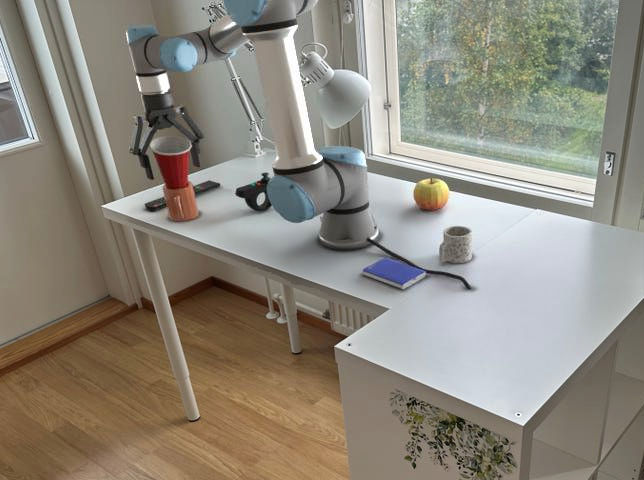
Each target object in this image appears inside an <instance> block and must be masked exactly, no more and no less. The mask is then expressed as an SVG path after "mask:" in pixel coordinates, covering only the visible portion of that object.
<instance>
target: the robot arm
mask: <svg viewBox="0 0 644 480" xmlns="http://www.w3.org/2000/svg"><path fill="white" fill-rule="evenodd" d="M318 2H319V0H222V4H223V8H224V10H225V12H226V14H225V15H224V16H222V17H220V18H219V19H218V20H216V21H215V22H214V23H213V24H211V25H209V26H208V27H207V28H204V29H201V30H196V31H192V32H191V31H190V32H186V33H182V34H181V33H180V34H176V35H171V36H164V35H163V36H161V35H160V33H159V32H158V29H157V26H156V25H154V24H136V25H131V26H128V27H127V28H126V30H125V34H126V39H127V47H128V50H129V54H130V57H131V61H132V66H133V69H134V73H135V77H136V82H137V86H138V89H139V92H140V93H141V94H140V97H141V102H142V106H143V109H144V114H143V115H138V114H134V115H133V123H134V125H133V129H132V134H131V140H130V146H129V151H128V152H129V153H130V154H131V155H134V156H137V157H138V159H139V160H138V161H139V164H140V165H139V166H140V167H141V168H143V169H144V171H145V174H146V178H147V179H149V180H151V181H155V177H154V173H153V169H152V165H151V161H150V156H149V155H148V154H146V153H147V151H148V150H149V149H148V148H150V147H149V144H150V142H151V141H152V140H153V138H154V136H155V134H156V133H157V132H158V130H159V131H163V130H165V129H171V128H172V127H174V128H175V129H177V130H178V132H180V133H181V134H182V135H184V136H185V137H186V138H187V139H188V140H189V141H190V142H191V145H192V147H191V149H190V152H189V153H190V155H191V161H192V165H193V167H195V168H201V163H200V159H199V155H200V154H201V148H200V142H201V140H203V139H204V138H205V135H204V134H203V132H202V131H201V129H200V128H199V127H198V125H197V124H196V122H195V121H194V120H193V119H192V117H191V116H190V114H189V112H188V108H187V106H185V105H181V104H179V105H178V106H177V107H175V104H174V100H173V95H172V91H171V90H170V89H171V85H170V80H169V77H168V72H167V71H170V72H175V73H188V72H190V71H192V70H193V68H194V67H197V66H201V65H204V64H209V63H213V62H218V61H225V60H227V59H230V58H232V57H234V56H235V55H236V53H237V50H238V49H239V48H241V47H243V46H244V45H246V44H247V43H249V42H250V43H251V45H252V49H253V53H254V58H255V62H256V67H257V72H258V77H259V80H260V85H261V90H262V95H263V99H264V104H265V108H266V112H267V118H268V122H269V127H270V131H271V136H272V140H273V145H274V150H275V153H276V154H275V155H276V157H275V158H274V160H273V162H272V164H271V167H272V171H273V176H272V177H270V178H271V179H270V180H269V182H268V185H267V194H268V198H269V200H270V203H271V205H272V206H271V207H272V208H273V209H274V210H275V212H276V213H277V214H278V215H279V216H280V217H281V218H283V219H284V220H285V221H288V222H290V223H292V224H301V223H303V222H306V221H309V220H313V219H315V218H316V217H317V216H319V219H320V228H319V232H318V236H319V242H320V243H321V245H322V246H324V247H327V248H329V249H333V250H341V251H346V250H349V251H350V250H357V249H362V248H365V247H368V246H371V245H373V246H375V247H377V248H378V249H380V250H381V251H382V252H384V253H386V254H388V255H390V256H391V257H393V258H395V259H396V260H399V261H401V262H403V263H404V264H406V265H409V266H411V267H414V268H417V269H420V270H423V271H426V275H435V276H444V277H448V278H452V279H455V280H459V281H460V282H461V283H462V284H463V285H464V286H465V288H466V290H472V287H471V285H470V284H469V283H468V281H467V280H466V278H464V277H463V276H461V275H458V274H455V273H451V272H448V271H441V270H432V269H426V268H423V267H420V266H419V265H416V264H415V263H414V262H413V261H411V260H409V259H407V258H405V257H403V256H401V255H399V254H397V253H395V252H394V251H391V250H390V249H389V248H386V247H385V246H383V245H382V244H380V243H379V242H377V241H378V240H379V237H380V233H379V230H380V229H379V226H378V223H377V222H376V219H375V217H374V214H373V212H372V210H371V207H370V195H369V180H368V165H367V160H366V155H365V153H364V151H363V150H362V149H360V148H357V147H352V146H345V145H331V146H324V147H319V148H318V149H317V150H315V146H314V141H313V136H312V131H311V124H310V121H309V120H310V119H309V115H308V110H307V104H306V100H305V94H304V90H303V89H304V88H303V85H302V79H301V74H300V68H299V62H298V58H297V52H296V48H295V43H294V34H295V32H296V31H297V28H298V27H299V25H298V20H297V18H298V17H300V16H302V15H303V14H306V13H307V12H310V11H311V10H312V9H314V7H316V5H317V4H318ZM177 115H179V116H181V118H182V119H183V120H184V122H185V123H186V125H187V126H188V127H189V129H190V130H191V131H192V132H190V131H189V130H188V129H187V128H186V127H185V126H184V125H182V124H181V122H179V121H178V120H177V119H176V118H177ZM145 121H146V122H147V123H148V124H147V125H146V128H145V132H144V134H143V136H142V133H143V128H144V124H145ZM141 138H142V139H141ZM320 215H322V216H320Z"/></svg>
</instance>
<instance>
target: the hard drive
mask: <svg viewBox="0 0 644 480" xmlns="http://www.w3.org/2000/svg"><path fill="white" fill-rule="evenodd" d="M362 275H363V276H366V277H369V278H371V279H374V280H377V281H380V282H382V283H385V284H388V285H391V286H393V287H396V288H399V289H401V290H405V289H407V288H409V287H411V286H412V285H414V284H416V283H418V282H419V281H421V280H422V279H424V278H426V277H427V273H426V271H423V270H420V269H417V268H414V267H411V266H410V265H408V264H406V263H404V262H403V263H402V262H400V261H397V260H394V259H392V258H389V257H383V258H381V259H379V260H378V261H376V262H374V263H372V264H370V265H368V266H366V267H364V268H363V269H362Z"/></svg>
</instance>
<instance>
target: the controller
mask: <svg viewBox="0 0 644 480" xmlns="http://www.w3.org/2000/svg"><path fill="white" fill-rule="evenodd" d="M260 175H261V179H259V180H257V181H253V182H252V183H248V184H246V185H243V186H240V187H236V189H235V193H234V194H235V196H236V197H238V198H241V199H244V202H245V204H246V205H247V207H249V208H250V209H251V210H254V211H256V212H266V211H267V210H269V209H270V208H272V207H273V206H272V205H271V203H270V200H269V198H268V194H267V185H268V182H269V180H270V179H271V178H272V177H269V175H270V174H269V172H262V173H261V174H260ZM262 193H263V194H264V200H263V202H262V203H261V204H258V197H259V196H260V195H261V194H262Z"/></svg>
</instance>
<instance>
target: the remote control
mask: <svg viewBox="0 0 644 480" xmlns="http://www.w3.org/2000/svg"><path fill="white" fill-rule="evenodd" d="M219 187H221V183H220V182H216V181H213V180H206V181H202V182H200V183H198V184H195V185H193V189H194V193H195V196H197V195H199V194H202V193H205V192H207V191H210V190H213V189H216V188H219ZM144 207H145V209H146V210H147V211H149V212H153V211H156V210H159V209H162V208H164V207H167V206H166V202H165V198H164V196H162V197H159V198H156V199H154V200H151V201H148V202H145V203H144Z"/></svg>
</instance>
